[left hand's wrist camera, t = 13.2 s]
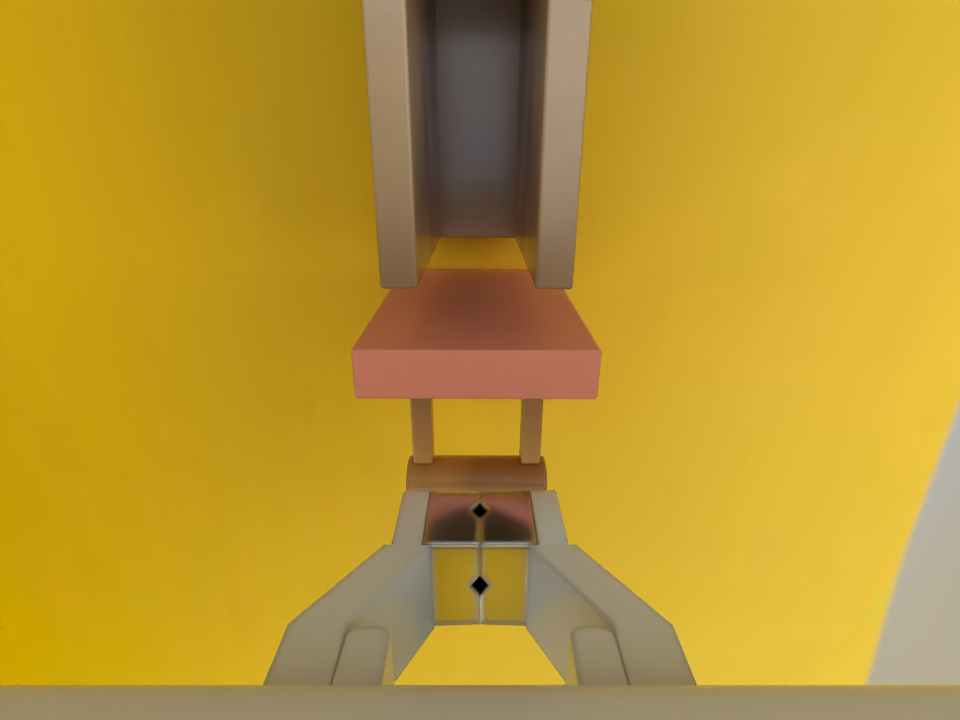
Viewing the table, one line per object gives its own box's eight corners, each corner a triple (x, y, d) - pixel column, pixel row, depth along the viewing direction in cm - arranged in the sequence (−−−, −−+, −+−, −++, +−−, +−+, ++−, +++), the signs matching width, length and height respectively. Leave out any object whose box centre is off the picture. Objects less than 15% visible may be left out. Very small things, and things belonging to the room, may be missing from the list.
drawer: (543, 424, 22) (580, 580, 14) (410, 424, 22) (371, 579, 14) (596, -532, 12) (801, -1734, 4) (362, -534, 12) (155, -1746, 4)
